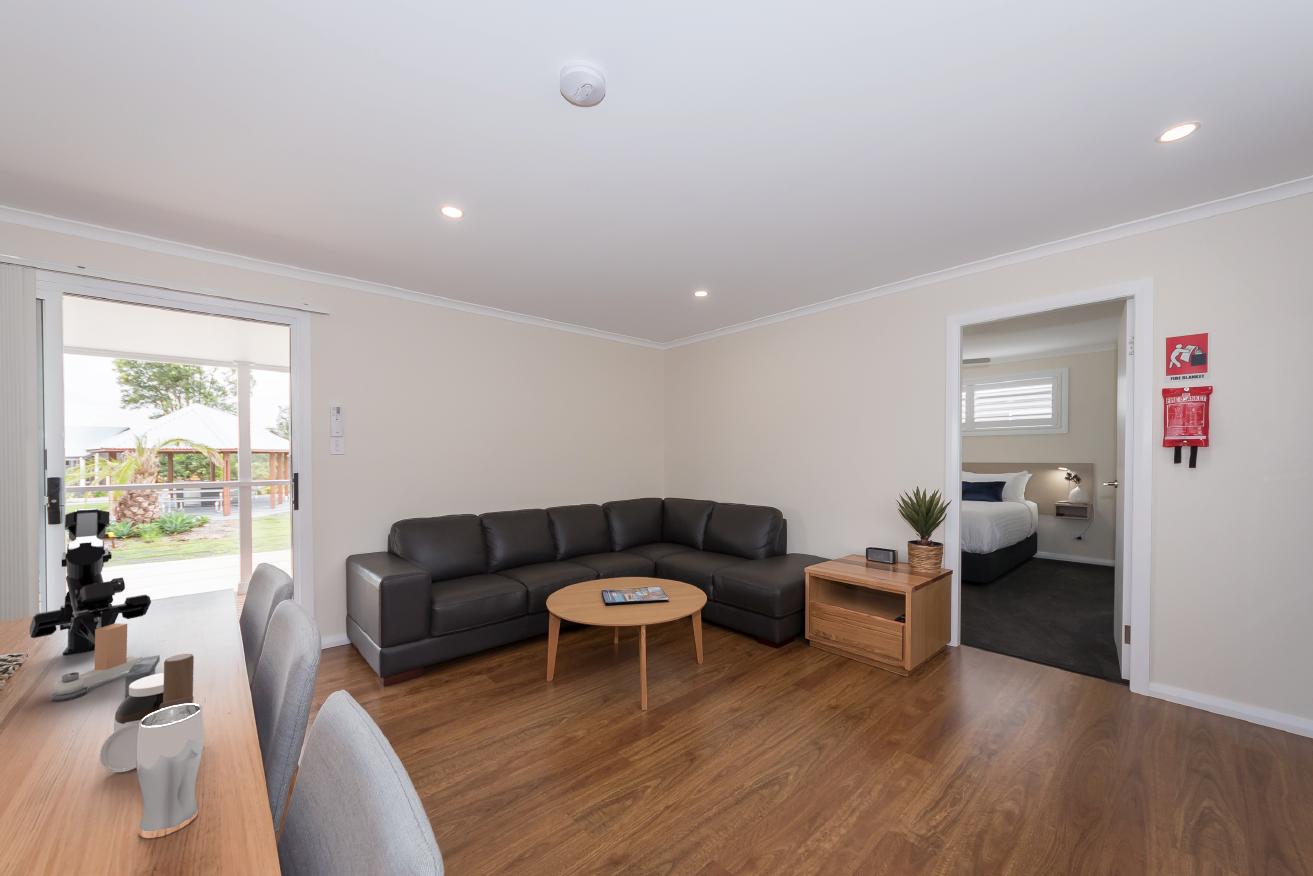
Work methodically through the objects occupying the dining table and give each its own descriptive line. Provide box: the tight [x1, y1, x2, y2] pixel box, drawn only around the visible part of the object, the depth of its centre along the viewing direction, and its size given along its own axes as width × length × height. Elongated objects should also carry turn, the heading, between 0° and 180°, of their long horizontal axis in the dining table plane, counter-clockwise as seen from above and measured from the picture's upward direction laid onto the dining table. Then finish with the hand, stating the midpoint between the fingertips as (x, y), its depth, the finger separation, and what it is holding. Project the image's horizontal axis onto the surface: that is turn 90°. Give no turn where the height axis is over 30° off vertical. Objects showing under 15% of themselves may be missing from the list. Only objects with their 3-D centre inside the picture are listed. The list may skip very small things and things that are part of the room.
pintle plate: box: [51, 672, 89, 703], centre depth 110 cm, size 5×5×4 cm
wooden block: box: [160, 653, 195, 710], centre depth 83 cm, size 4×11×18 cm, turn 41°
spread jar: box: [99, 672, 195, 773], centre depth 90 cm, size 12×11×12 cm
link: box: [55, 622, 144, 695], centre depth 116 cm, size 15×4×11 cm, turn 175°
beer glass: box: [135, 703, 205, 831], centre depth 73 cm, size 7×7×15 cm
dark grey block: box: [124, 654, 161, 700], centre depth 114 cm, size 4×11×5 cm, turn 35°
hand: (101, 645), depth 119 cm, fingers closed
